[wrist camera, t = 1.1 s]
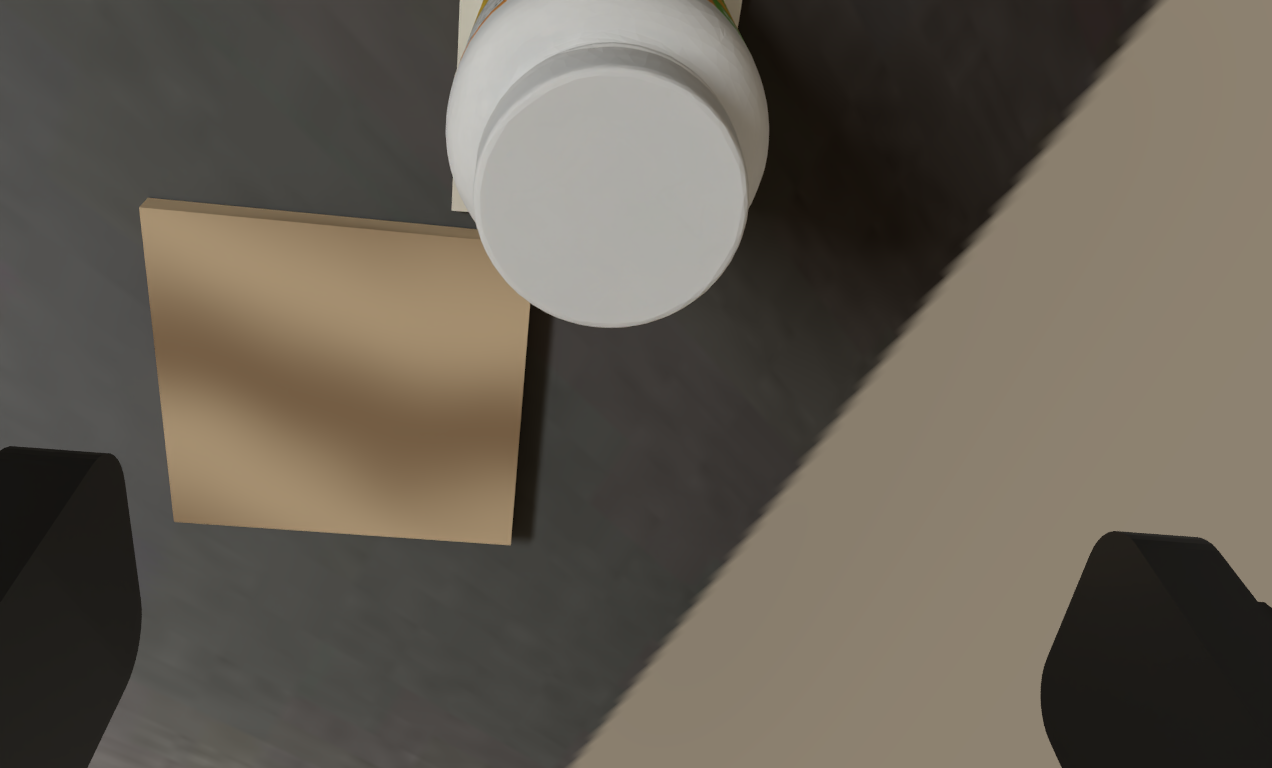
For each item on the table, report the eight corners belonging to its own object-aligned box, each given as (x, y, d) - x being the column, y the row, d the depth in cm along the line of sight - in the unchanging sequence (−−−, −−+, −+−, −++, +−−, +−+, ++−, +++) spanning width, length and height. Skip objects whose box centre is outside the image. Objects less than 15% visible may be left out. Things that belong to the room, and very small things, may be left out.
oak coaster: (148, 197, 26) (139, 207, 25) (535, 234, 27) (534, 245, 26) (181, 508, 30) (174, 521, 30) (511, 531, 31) (510, 544, 31)
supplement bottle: (778, 32, 24) (879, 193, 16) (612, 206, 26) (625, 431, 18) (593, -153, 22) (597, -80, 14) (427, 50, 24) (345, 221, 16)
